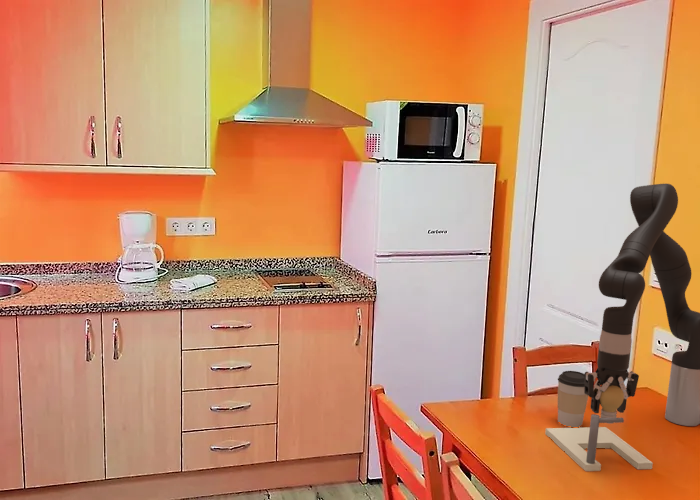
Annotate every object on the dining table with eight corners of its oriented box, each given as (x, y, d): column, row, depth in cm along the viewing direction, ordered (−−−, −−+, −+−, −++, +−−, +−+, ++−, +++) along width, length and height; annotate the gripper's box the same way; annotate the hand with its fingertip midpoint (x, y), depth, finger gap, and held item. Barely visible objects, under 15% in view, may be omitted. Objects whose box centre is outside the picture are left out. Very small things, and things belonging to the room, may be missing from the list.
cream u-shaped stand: (605, 432, 191) (610, 386, 189) (652, 468, 170) (658, 417, 168) (545, 433, 188) (549, 386, 186) (585, 471, 166) (591, 418, 164)
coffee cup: (582, 418, 201) (587, 369, 198) (589, 430, 192) (595, 379, 189) (550, 415, 201) (555, 367, 199) (557, 427, 192) (562, 377, 190)
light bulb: (609, 428, 169) (612, 390, 168) (589, 419, 175) (592, 382, 174) (627, 424, 172) (630, 386, 171) (607, 415, 178) (610, 378, 176)
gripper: (632, 344, 176) (625, 406, 179) (580, 344, 174) (574, 406, 176) (649, 353, 169) (641, 417, 171) (596, 353, 166) (588, 418, 169)
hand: (607, 411), depth 174 cm, fingers closed on light bulb, 6 cm apart
